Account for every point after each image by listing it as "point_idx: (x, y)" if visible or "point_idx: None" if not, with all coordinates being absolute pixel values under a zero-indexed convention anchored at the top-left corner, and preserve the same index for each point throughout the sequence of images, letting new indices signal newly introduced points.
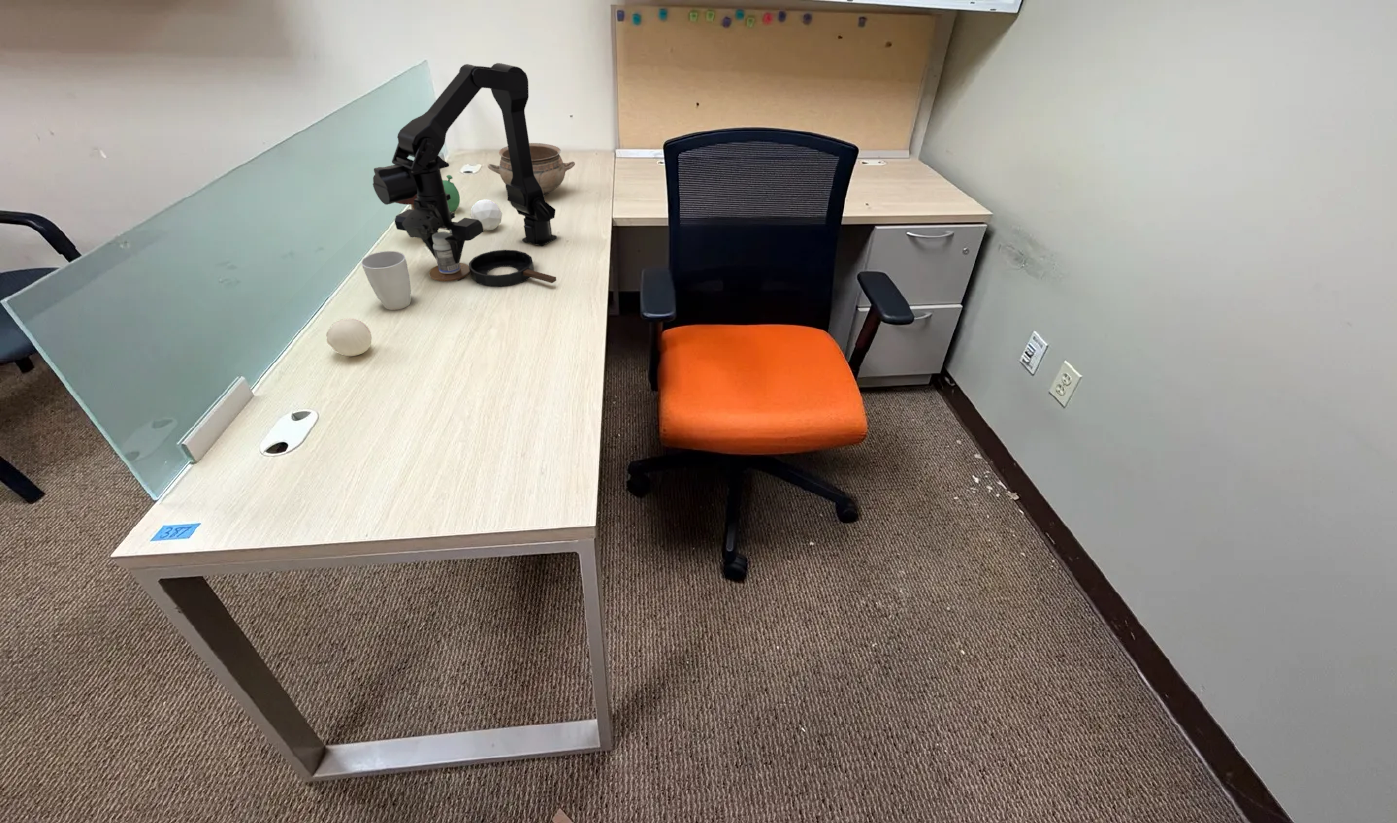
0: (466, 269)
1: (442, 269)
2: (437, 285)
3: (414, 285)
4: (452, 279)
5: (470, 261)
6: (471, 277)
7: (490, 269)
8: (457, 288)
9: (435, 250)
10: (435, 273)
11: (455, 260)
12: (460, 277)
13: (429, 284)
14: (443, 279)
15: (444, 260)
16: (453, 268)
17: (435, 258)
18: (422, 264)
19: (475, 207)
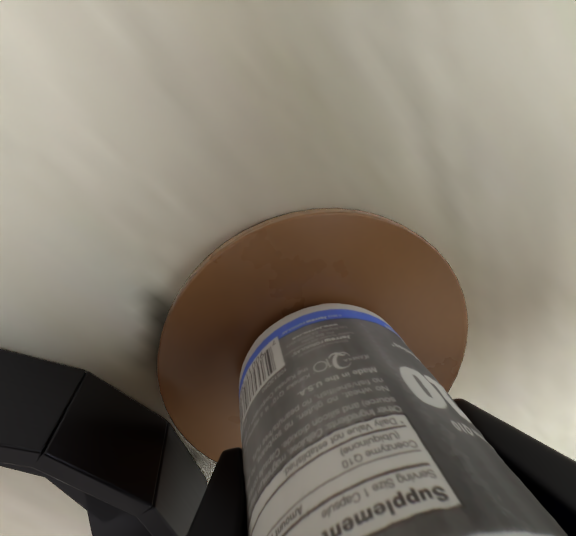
0: (222, 438)
1: (329, 322)
2: (249, 133)
3: (448, 25)
4: (192, 275)
5: (167, 528)
6: (72, 377)
7: (91, 518)
8: (21, 175)
9: (486, 512)
10: (393, 280)
11: (225, 476)
12: (162, 334)
13: (331, 114)
14: (256, 231)
15: (308, 411)
16: (246, 383)
17: (472, 404)
18: (563, 344)
19: None
